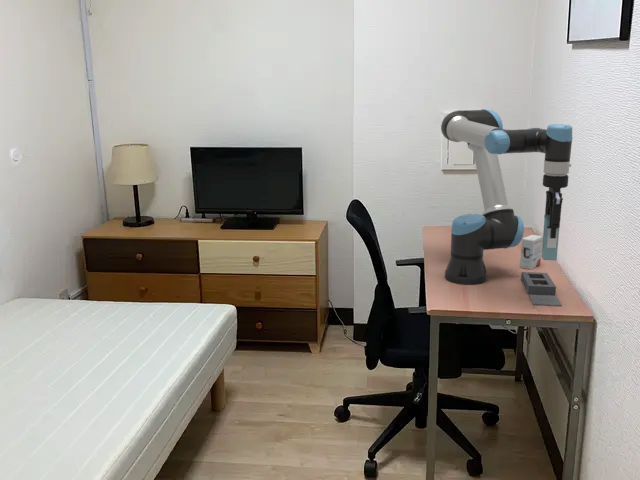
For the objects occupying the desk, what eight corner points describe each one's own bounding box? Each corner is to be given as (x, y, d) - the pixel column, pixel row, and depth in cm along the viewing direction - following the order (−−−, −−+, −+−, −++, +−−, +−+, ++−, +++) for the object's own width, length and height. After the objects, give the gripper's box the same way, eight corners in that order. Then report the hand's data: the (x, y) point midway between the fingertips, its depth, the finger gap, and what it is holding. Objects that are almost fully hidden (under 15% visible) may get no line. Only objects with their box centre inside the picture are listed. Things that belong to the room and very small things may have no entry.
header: (555, 295, 217) (556, 287, 216) (528, 294, 218) (528, 285, 217) (546, 280, 232) (547, 272, 231) (521, 279, 233) (521, 271, 232)
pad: (561, 306, 207) (562, 305, 206) (533, 304, 208) (533, 303, 208) (556, 296, 215) (556, 295, 215) (528, 295, 216) (528, 294, 216)
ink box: (529, 262, 254) (531, 234, 251) (541, 265, 251) (543, 236, 248) (519, 267, 248) (521, 238, 245) (531, 270, 245) (533, 240, 242)
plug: (556, 260, 205) (560, 218, 202) (543, 260, 206) (546, 217, 202) (554, 256, 209) (557, 215, 206) (541, 256, 210) (544, 214, 206)
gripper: (574, 178, 192) (567, 253, 198) (562, 170, 208) (556, 239, 214) (548, 178, 193) (542, 252, 199) (538, 170, 209) (533, 238, 215)
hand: (549, 245), depth 207 cm, fingers closed on plug, 4 cm apart
